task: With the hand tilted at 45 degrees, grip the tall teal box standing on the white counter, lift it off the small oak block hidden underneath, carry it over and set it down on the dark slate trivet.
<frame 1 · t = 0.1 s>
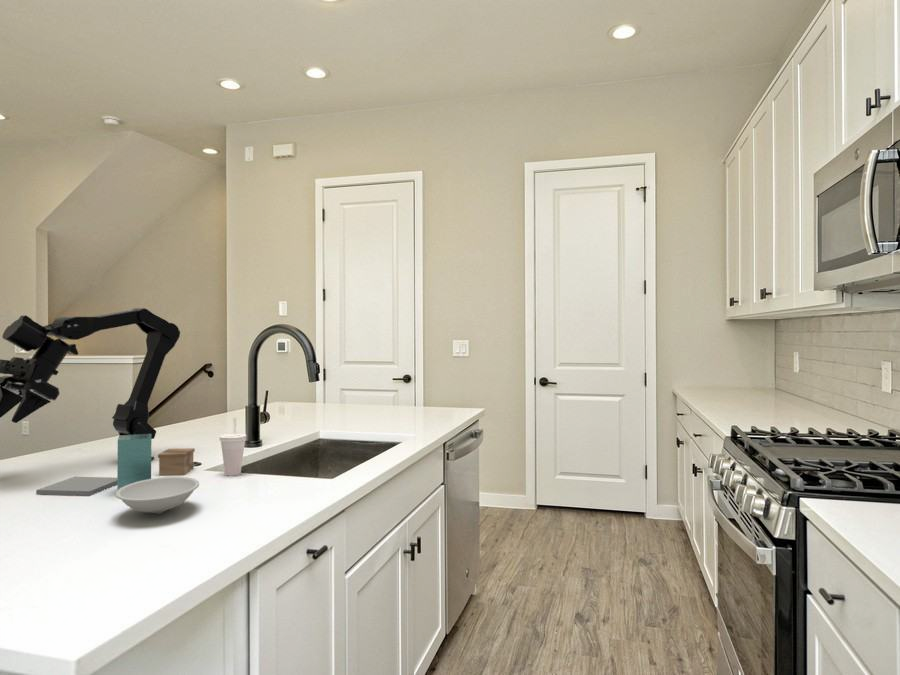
hand: (4, 420, 135), 15 cm above the worktop, tool tilted 35°, fingers open, 9 cm apart
tall teal box: (134, 490, 132), on the worktop
trivet: (81, 488, 134), on the worktop
walnut box: (176, 471, 150), on the worktop
block: (134, 491, 132), on the worktop
dish: (158, 513, 116), on the worktop
smoothie: (232, 474, 148), on the worktop
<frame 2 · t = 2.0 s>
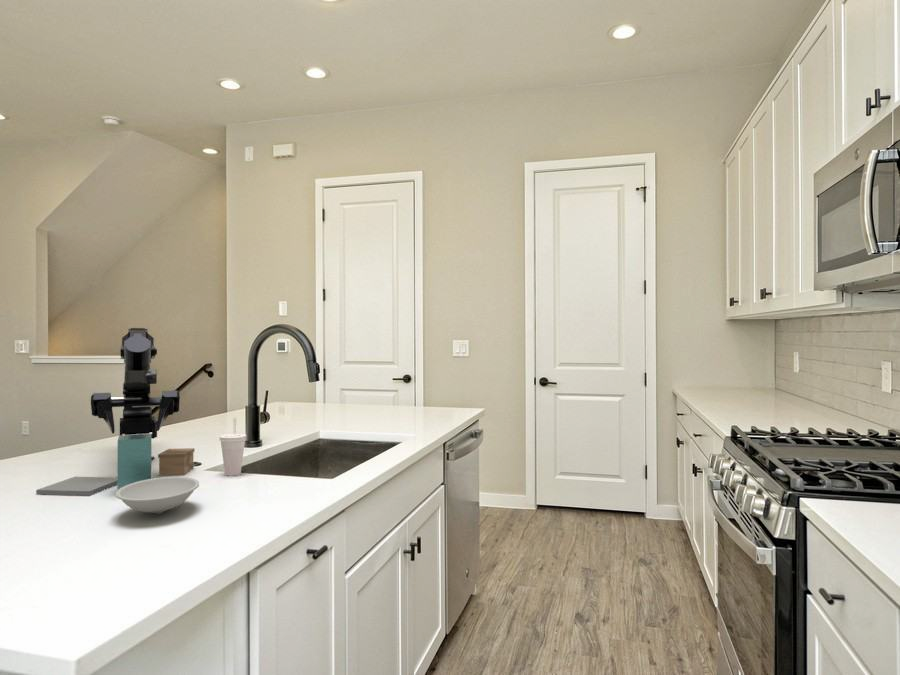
hand: (135, 431, 137), 12 cm above the worktop, tool tilted 45°, fingers open, 9 cm apart
nothing on the worktop moved.
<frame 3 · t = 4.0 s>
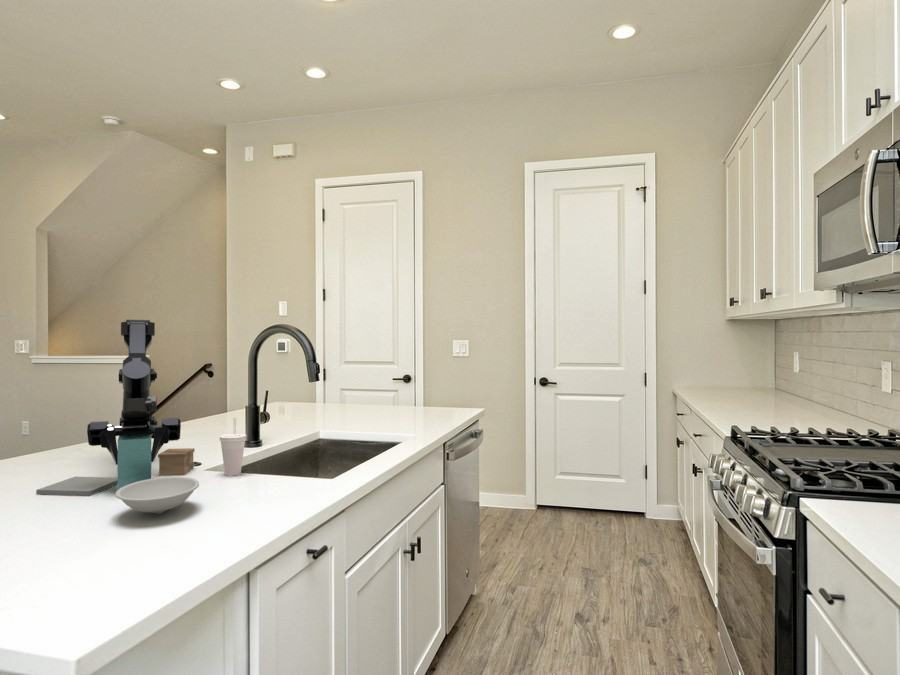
hand: (134, 462, 131), 7 cm above the worktop, tool tilted 45°, fingers closed on tall teal box, 6 cm apart
tall teal box: (134, 490, 132), on the worktop, touching gripper
everything else where it was.
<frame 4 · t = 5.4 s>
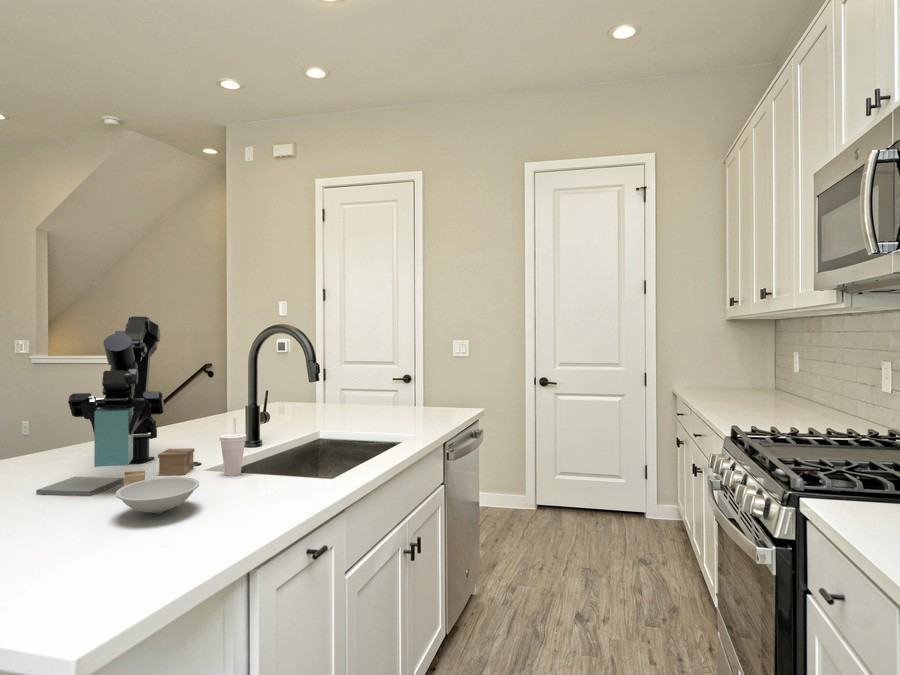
hand: (113, 434, 131), 13 cm above the worktop, tool tilted 45°, fingers closed on tall teal box, 6 cm apart
tall teal box: (114, 462, 132), point 6 cm above the worktop, touching gripper
everything else where it was.
when the fingers open (9 cm above the worktop, at t = 7.1 s): tall teal box drops 1 cm, resting on trivet.
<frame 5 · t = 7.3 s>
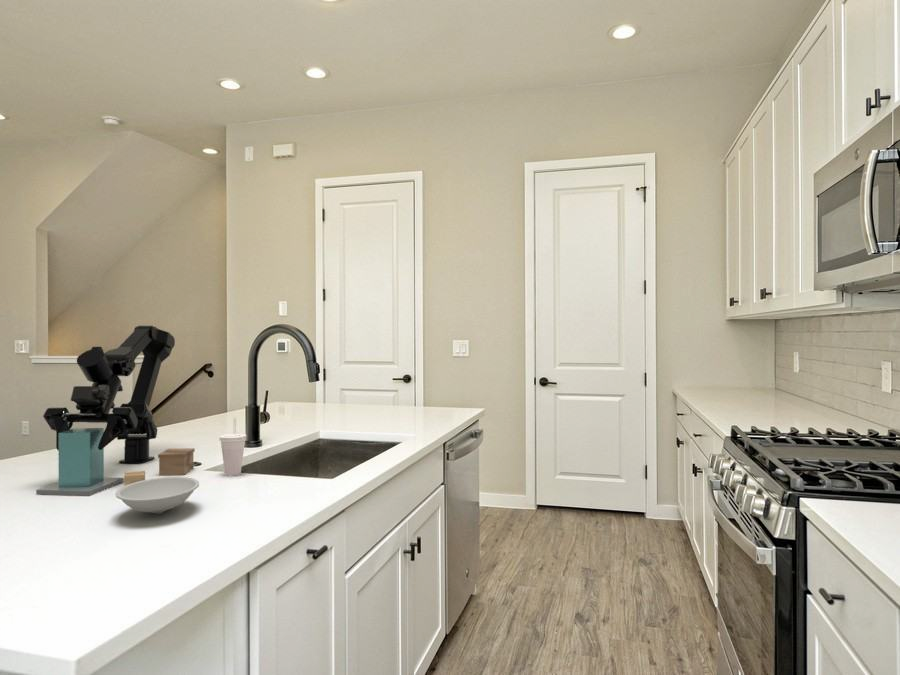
hand: (78, 449, 132), 9 cm above the worktop, tool tilted 45°, fingers open, 8 cm apart
tall teal box: (81, 483, 134), point 1 cm above the worktop, touching trivet
everything else where it was.
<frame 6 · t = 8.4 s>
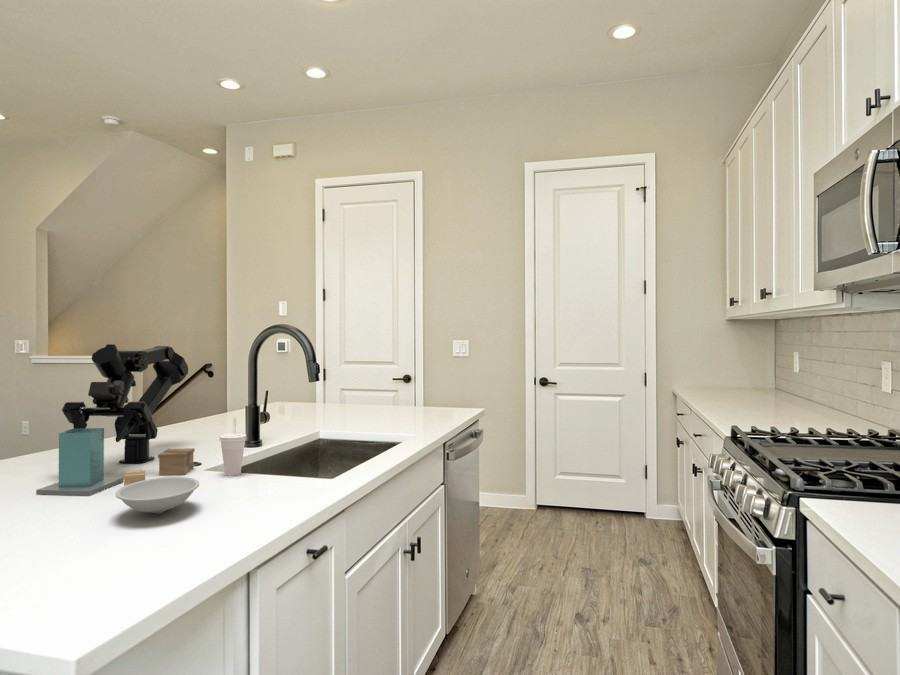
hand: (96, 441, 140), 9 cm above the worktop, tool tilted 45°, fingers open, 9 cm apart
nothing on the worktop moved.
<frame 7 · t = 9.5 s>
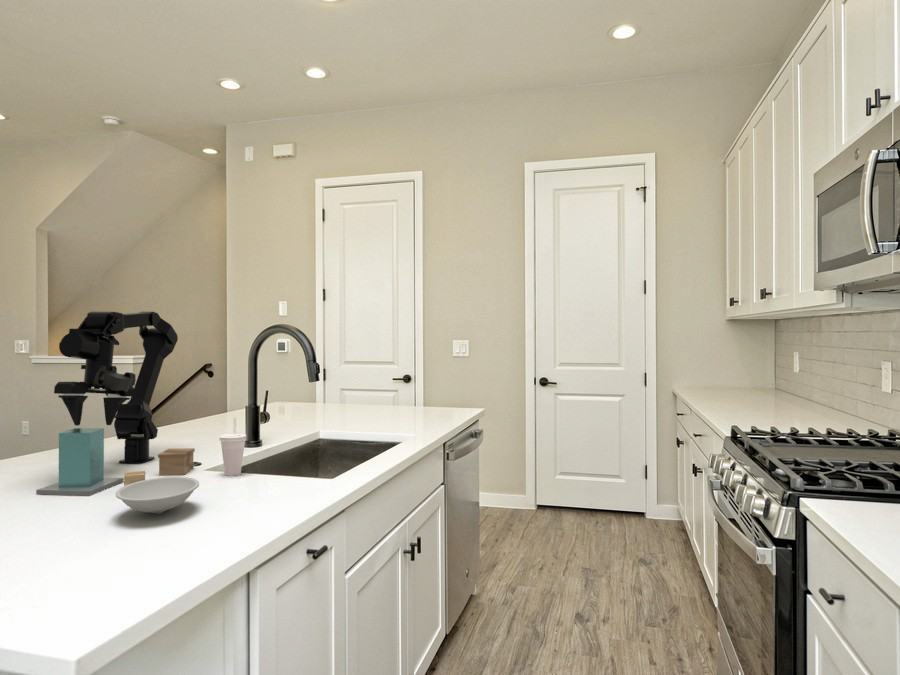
hand: (93, 425, 144), 13 cm above the worktop, tool pointing down, fingers open, 9 cm apart
nothing on the worktop moved.
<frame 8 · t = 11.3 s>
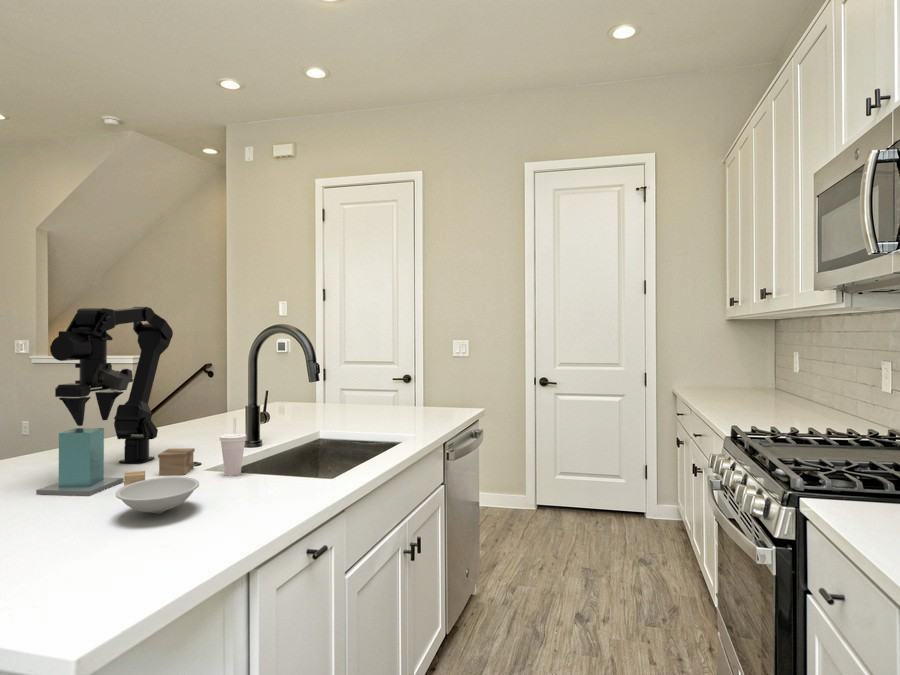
hand: (92, 422, 145), 13 cm above the worktop, tool pointing down, fingers open, 9 cm apart
nothing on the worktop moved.
at the end: tall teal box inside the target area on the trivet (0.0 cm from its centre), point 1.0 cm above the trivet's base; tall teal box tilted 0°; tall teal box moved 13.1 cm from its start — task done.
